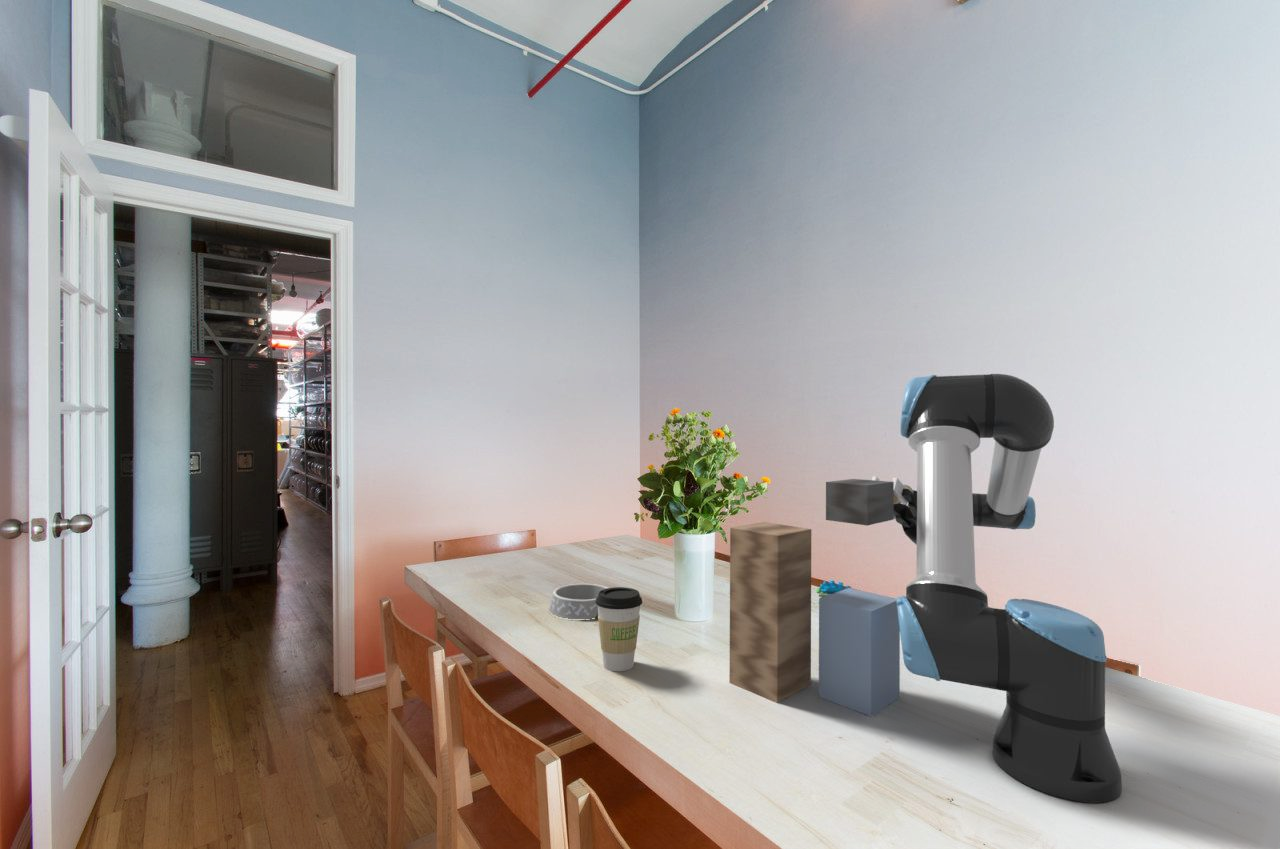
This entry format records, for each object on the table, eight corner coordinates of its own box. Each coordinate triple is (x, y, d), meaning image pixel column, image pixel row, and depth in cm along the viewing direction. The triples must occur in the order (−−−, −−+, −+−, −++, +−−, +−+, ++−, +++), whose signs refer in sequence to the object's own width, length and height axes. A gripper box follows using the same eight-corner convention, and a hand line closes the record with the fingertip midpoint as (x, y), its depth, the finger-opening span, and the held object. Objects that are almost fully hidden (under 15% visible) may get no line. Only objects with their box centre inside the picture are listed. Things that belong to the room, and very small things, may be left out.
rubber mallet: (925, 512, 116) (925, 477, 116) (867, 525, 100) (867, 485, 100) (886, 508, 122) (886, 475, 122) (825, 520, 106) (825, 482, 106)
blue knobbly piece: (863, 600, 162) (849, 579, 157) (859, 618, 158) (844, 598, 154) (825, 597, 169) (811, 577, 164) (821, 615, 165) (806, 595, 161)
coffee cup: (636, 677, 114) (637, 601, 114) (588, 672, 116) (589, 597, 116) (646, 657, 124) (646, 587, 124) (601, 654, 126) (602, 585, 126)
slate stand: (899, 697, 106) (899, 599, 106) (870, 716, 99) (871, 611, 99) (848, 679, 114) (849, 587, 114) (818, 696, 106) (819, 598, 107)
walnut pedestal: (810, 685, 111) (811, 529, 111) (777, 702, 104) (777, 535, 104) (763, 667, 119) (764, 522, 119) (729, 682, 112) (730, 527, 112)
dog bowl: (628, 609, 158) (628, 590, 158) (579, 626, 144) (579, 604, 144) (585, 597, 169) (585, 579, 169) (535, 611, 155) (535, 591, 155)
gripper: (963, 553, 119) (922, 504, 105) (885, 541, 131) (839, 496, 118) (970, 519, 121) (931, 468, 108) (892, 510, 134) (848, 463, 120)
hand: (883, 483), depth 113 cm, fingers closed on rubber mallet, 3 cm apart
